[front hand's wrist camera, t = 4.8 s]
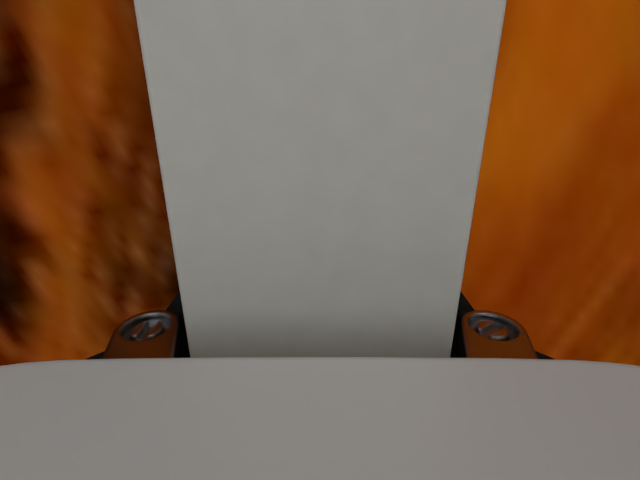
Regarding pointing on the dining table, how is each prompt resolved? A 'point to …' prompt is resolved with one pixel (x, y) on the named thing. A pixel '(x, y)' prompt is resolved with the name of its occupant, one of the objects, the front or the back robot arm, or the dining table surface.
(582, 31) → the dining table surface
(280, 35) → the beam
